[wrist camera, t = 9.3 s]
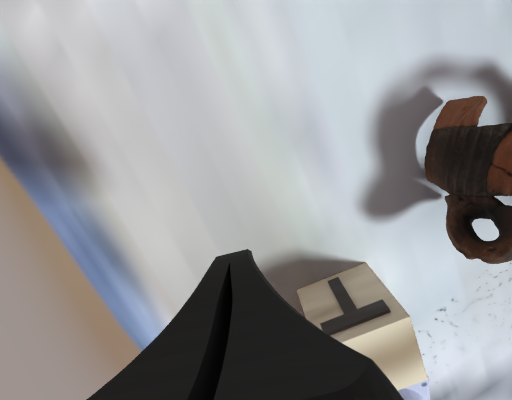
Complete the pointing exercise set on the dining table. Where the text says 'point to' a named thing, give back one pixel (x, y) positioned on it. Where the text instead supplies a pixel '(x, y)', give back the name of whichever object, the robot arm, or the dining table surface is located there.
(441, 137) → the brown curved wooden piece
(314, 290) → the letter cube
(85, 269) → the dining table surface
